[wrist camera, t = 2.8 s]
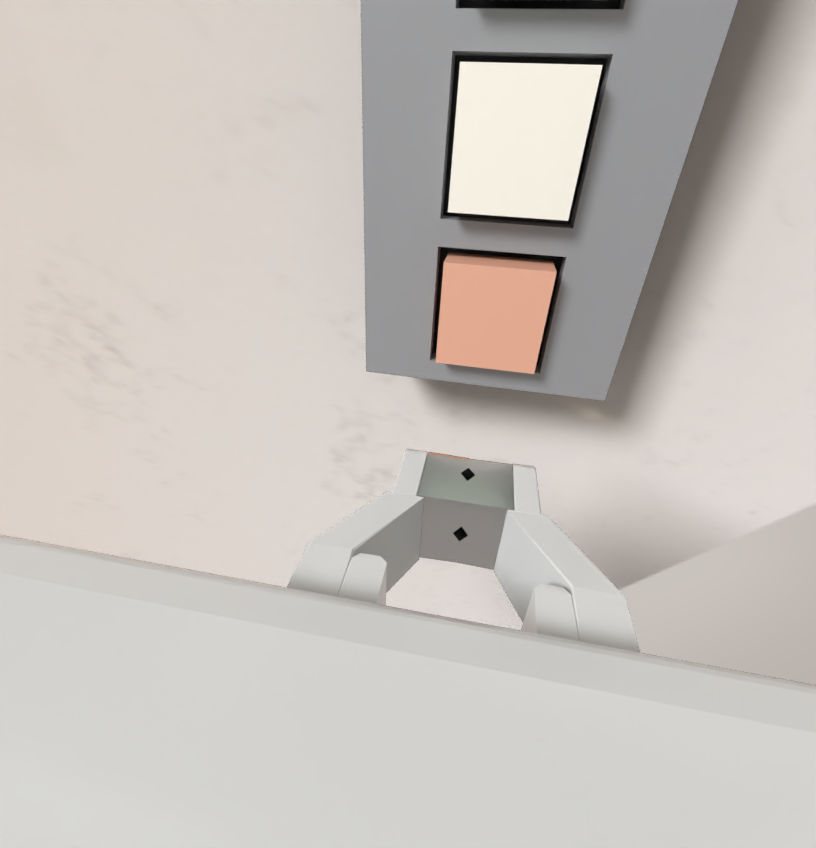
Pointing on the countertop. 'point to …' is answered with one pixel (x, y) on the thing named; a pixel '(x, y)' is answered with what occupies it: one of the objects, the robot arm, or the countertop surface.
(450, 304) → the key terracotta
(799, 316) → the countertop surface
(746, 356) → the countertop surface
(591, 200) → the grey button panel
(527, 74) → the key cream
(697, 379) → the countertop surface
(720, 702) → the robot arm
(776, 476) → the countertop surface
